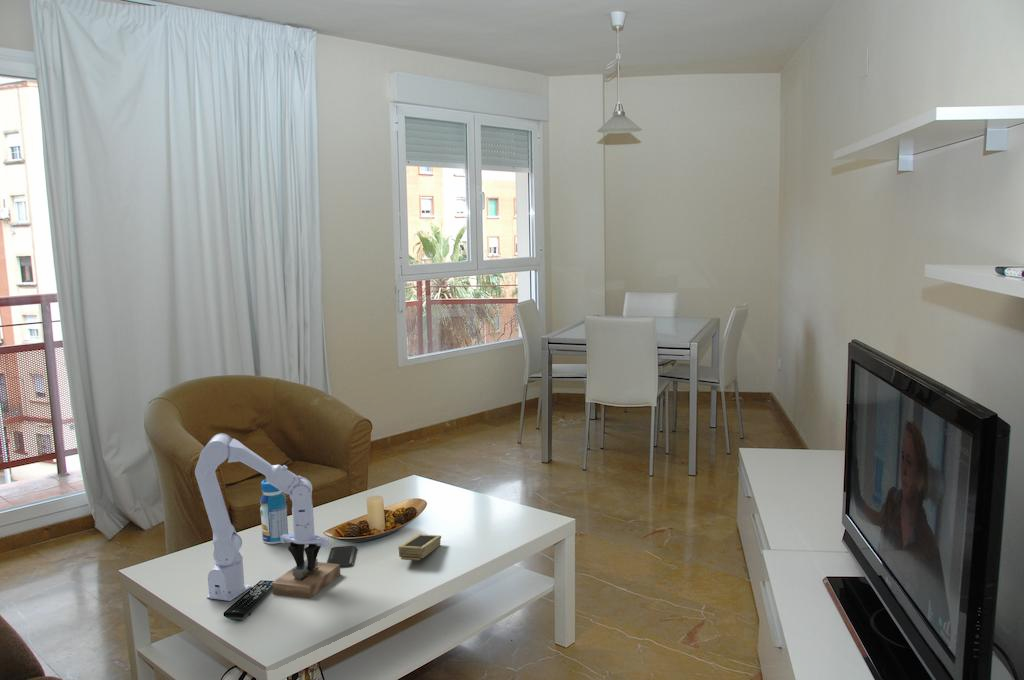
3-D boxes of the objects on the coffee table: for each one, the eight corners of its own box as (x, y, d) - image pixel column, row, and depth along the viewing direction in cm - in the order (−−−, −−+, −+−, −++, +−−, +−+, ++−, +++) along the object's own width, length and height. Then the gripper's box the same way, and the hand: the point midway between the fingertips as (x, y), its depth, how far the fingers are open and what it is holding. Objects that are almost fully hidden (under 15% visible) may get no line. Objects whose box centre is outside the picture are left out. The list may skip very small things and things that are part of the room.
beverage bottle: (282, 545, 254) (278, 484, 251) (257, 544, 255) (253, 484, 253) (293, 535, 262) (289, 477, 260) (269, 534, 263) (265, 476, 261)
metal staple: (303, 590, 219) (301, 570, 219) (293, 589, 220) (292, 568, 220) (318, 578, 227) (317, 558, 226) (309, 577, 228) (308, 557, 227)
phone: (356, 545, 250) (351, 564, 235) (356, 548, 250) (352, 567, 235) (331, 547, 249) (325, 566, 234) (331, 550, 249) (325, 569, 234)
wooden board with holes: (310, 598, 215) (309, 587, 214) (272, 593, 218) (271, 582, 218) (340, 574, 230) (339, 564, 229) (304, 570, 233) (303, 560, 233)
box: (397, 563, 233) (397, 546, 233) (419, 547, 255) (419, 531, 255) (424, 565, 231) (424, 548, 232) (443, 548, 254) (444, 533, 254)
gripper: (333, 519, 223) (336, 565, 225) (289, 515, 228) (292, 560, 230) (320, 528, 217) (323, 575, 218) (274, 523, 221) (278, 570, 223)
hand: (306, 568), depth 224 cm, fingers closed on metal staple, 3 cm apart
